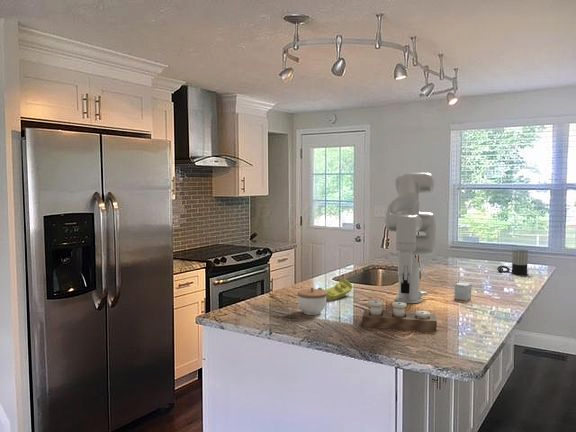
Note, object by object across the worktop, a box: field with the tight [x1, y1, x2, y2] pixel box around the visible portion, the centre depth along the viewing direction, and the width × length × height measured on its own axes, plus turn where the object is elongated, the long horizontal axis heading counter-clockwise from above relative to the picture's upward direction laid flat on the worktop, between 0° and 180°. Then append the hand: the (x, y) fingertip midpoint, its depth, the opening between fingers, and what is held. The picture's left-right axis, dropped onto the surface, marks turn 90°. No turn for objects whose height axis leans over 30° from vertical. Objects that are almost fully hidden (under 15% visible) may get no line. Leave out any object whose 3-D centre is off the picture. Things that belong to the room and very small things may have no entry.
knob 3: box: [414, 310, 431, 319], centre depth 190 cm, size 6×6×5 cm
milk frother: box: [496, 248, 529, 276], centre depth 303 cm, size 14×16×15 cm
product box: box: [454, 281, 472, 302], centre depth 236 cm, size 6×6×7 cm
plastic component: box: [317, 278, 354, 302], centre depth 242 cm, size 20×7×10 cm
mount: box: [361, 309, 438, 332], centre depth 192 cm, size 28×10×4 cm, turn 76°
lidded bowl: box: [297, 287, 327, 316], centre depth 211 cm, size 13×13×11 cm
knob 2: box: [391, 301, 408, 317], centre depth 192 cm, size 6×6×5 cm
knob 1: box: [368, 300, 384, 316], centre depth 194 cm, size 6×6×5 cm
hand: (405, 292), depth 191 cm, fingers closed
